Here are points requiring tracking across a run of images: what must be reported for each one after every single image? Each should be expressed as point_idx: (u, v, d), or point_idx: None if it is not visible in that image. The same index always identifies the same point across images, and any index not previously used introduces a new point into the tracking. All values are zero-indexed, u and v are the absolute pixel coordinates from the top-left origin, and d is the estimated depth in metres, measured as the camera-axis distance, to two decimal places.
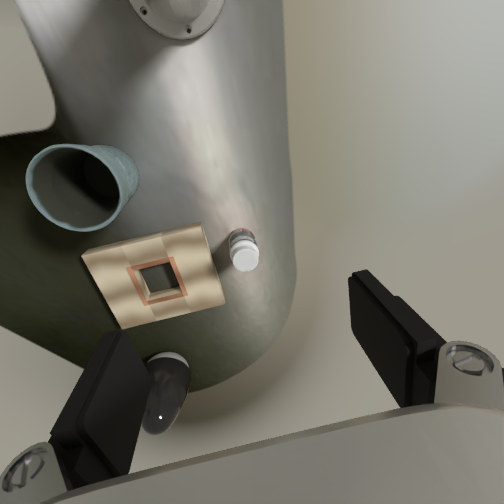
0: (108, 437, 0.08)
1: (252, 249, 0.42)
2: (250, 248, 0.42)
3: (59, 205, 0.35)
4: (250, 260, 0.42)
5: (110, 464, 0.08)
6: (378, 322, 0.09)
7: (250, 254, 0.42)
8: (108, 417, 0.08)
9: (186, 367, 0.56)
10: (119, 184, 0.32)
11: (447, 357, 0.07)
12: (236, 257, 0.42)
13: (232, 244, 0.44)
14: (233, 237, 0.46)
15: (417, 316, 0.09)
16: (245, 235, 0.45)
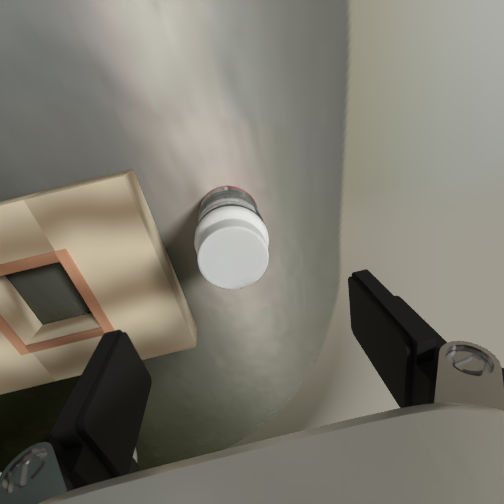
0: (108, 437, 0.08)
1: (252, 228, 0.15)
2: (247, 226, 0.15)
3: None
4: (247, 260, 0.15)
5: (110, 464, 0.08)
6: (378, 322, 0.09)
7: (245, 244, 0.15)
8: (108, 417, 0.08)
9: None
10: None
11: (447, 357, 0.07)
12: (208, 251, 0.15)
13: (201, 218, 0.17)
14: (206, 202, 0.19)
15: (417, 316, 0.09)
16: (235, 198, 0.18)
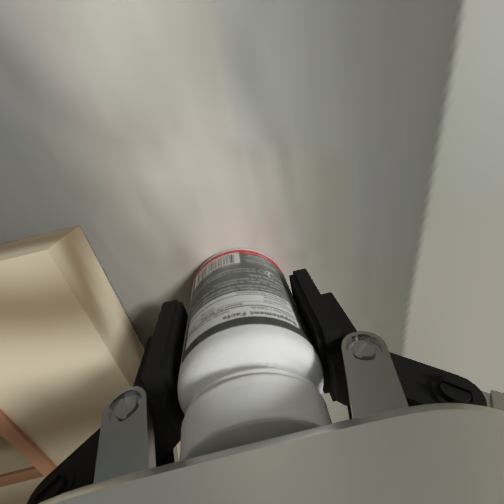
0: None
1: (305, 403, 0.06)
2: (294, 402, 0.06)
3: None
4: None
5: None
6: (305, 316, 0.10)
7: None
8: None
9: None
10: None
11: (349, 345, 0.08)
12: None
13: (191, 340, 0.09)
14: (202, 290, 0.11)
15: (341, 310, 0.10)
16: (256, 289, 0.10)
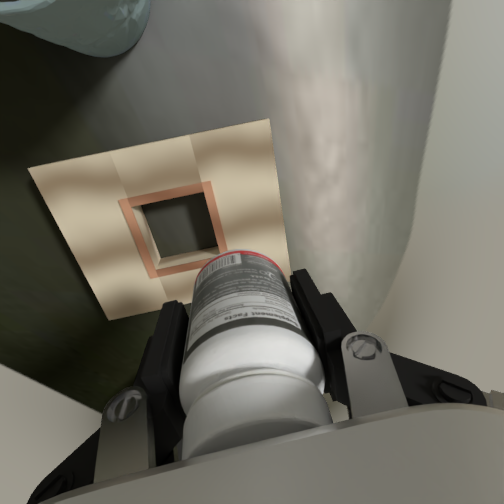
0: None
1: (307, 404, 0.07)
2: (296, 402, 0.06)
3: None
4: None
5: (184, 412, 0.09)
6: (305, 315, 0.10)
7: None
8: (180, 371, 0.09)
9: None
10: None
11: (349, 345, 0.08)
12: None
13: (193, 341, 0.09)
14: (203, 290, 0.11)
15: (341, 310, 0.10)
16: (258, 290, 0.10)
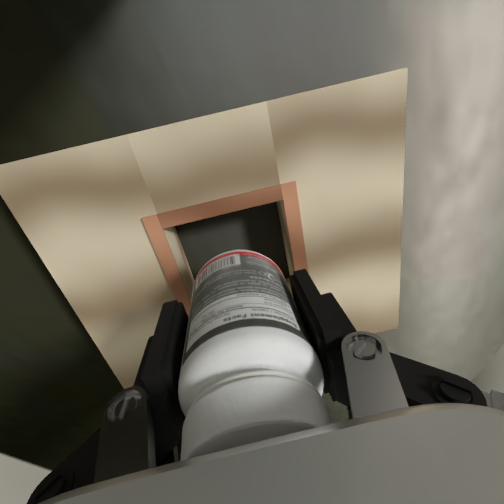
0: None
1: (306, 406, 0.07)
2: (295, 404, 0.06)
3: None
4: None
5: None
6: (305, 316, 0.10)
7: None
8: (179, 371, 0.09)
9: None
10: None
11: (349, 345, 0.08)
12: None
13: (192, 342, 0.09)
14: (202, 291, 0.11)
15: (341, 310, 0.10)
16: (257, 292, 0.10)
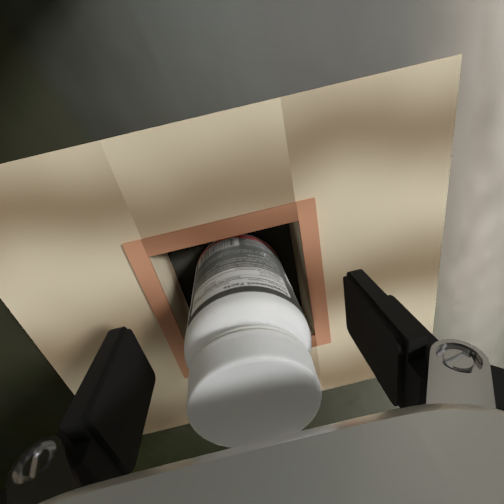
0: (115, 431, 0.08)
1: (292, 351, 0.08)
2: (283, 349, 0.08)
3: None
4: (283, 407, 0.08)
5: (117, 458, 0.08)
6: (371, 320, 0.09)
7: (280, 384, 0.08)
8: (114, 412, 0.09)
9: None
10: None
11: (438, 355, 0.07)
12: (208, 399, 0.08)
13: (196, 308, 0.10)
14: (205, 268, 0.12)
15: (410, 315, 0.09)
16: (253, 266, 0.11)
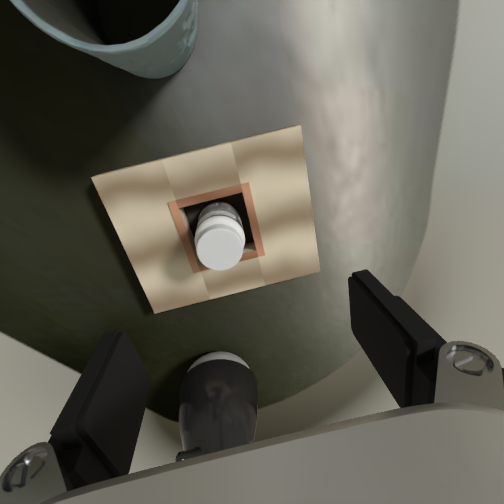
0: (108, 437, 0.08)
1: (231, 229, 0.23)
2: (228, 228, 0.23)
3: (49, 6, 0.15)
4: (229, 250, 0.24)
5: (110, 464, 0.08)
6: (378, 322, 0.09)
7: (227, 240, 0.23)
8: (108, 417, 0.08)
9: (252, 375, 0.36)
10: None
11: (447, 357, 0.07)
12: (203, 244, 0.23)
13: (199, 224, 0.26)
14: (202, 214, 0.28)
15: (417, 316, 0.09)
16: (222, 210, 0.27)
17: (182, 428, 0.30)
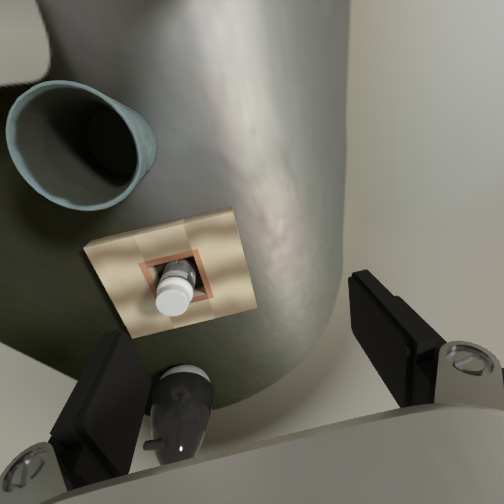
0: (108, 437, 0.08)
1: (179, 289, 0.34)
2: (177, 289, 0.34)
3: (55, 176, 0.26)
4: (178, 303, 0.34)
5: (110, 464, 0.08)
6: (378, 322, 0.09)
7: (176, 297, 0.34)
8: (108, 417, 0.08)
9: (208, 384, 0.46)
10: (138, 143, 0.23)
11: (447, 357, 0.07)
12: (160, 300, 0.34)
13: (160, 281, 0.36)
14: (165, 270, 0.38)
15: (417, 316, 0.09)
16: (178, 270, 0.37)
17: (151, 424, 0.41)
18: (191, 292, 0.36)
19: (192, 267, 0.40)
